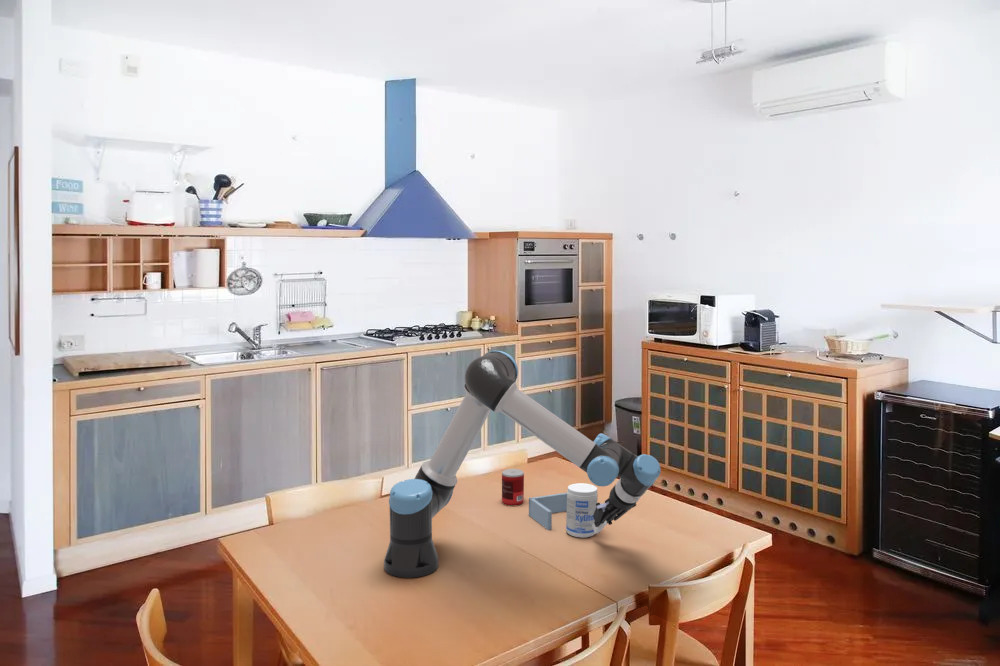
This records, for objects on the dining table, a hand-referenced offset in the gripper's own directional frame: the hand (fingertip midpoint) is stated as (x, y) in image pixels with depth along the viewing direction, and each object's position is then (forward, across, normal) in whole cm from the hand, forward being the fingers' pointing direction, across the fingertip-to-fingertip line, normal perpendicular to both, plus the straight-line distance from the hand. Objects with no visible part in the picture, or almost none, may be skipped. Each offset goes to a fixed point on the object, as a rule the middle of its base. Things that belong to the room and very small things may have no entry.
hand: (595, 529), depth 227 cm
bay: (+17, -1, +12) cm, 21 cm away
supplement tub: (+8, 0, +3) cm, 9 cm away
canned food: (+32, -9, +27) cm, 43 cm away
